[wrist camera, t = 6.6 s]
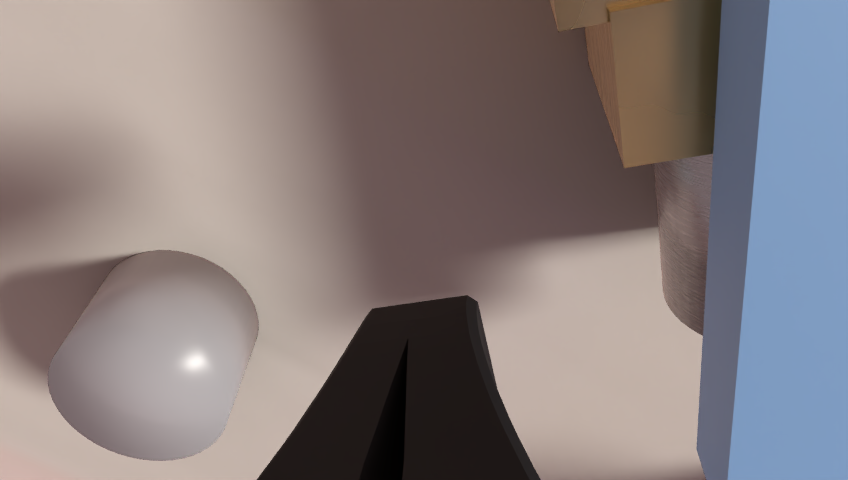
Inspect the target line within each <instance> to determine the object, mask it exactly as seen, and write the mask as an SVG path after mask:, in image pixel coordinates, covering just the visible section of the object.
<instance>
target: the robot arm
mask: <svg viewBox="0 0 848 480" xmlns="http://www.w3.org/2000/svg"><path fill="white" fill-rule="evenodd" d="M257 480H540V478H539V476H538V474H537V472H536V470H535V469H534V467H533V465H532V463H531V461H530V459H529V457H528V455H527V453H526V451H525V449H524V447H523V445H522V443H521V441H520V439H519V437H518V435H517V433H516V431H515V429H514V427H513V425H512V423H511V420H510V418H509V416H508V414H507V411H506V409H505V407H504V404H503V402H502V399H501V397H500V395H499V392H498V390H497V386H496V382H495V377H494V373H493V368H492V364H491V359H490V355H489V350H488V346H487V342H486V337H485V333H484V328H483V324H482V319H481V315H480V310H479V306H478V302H477V301H475V300H474V299H472V298H471V297H469V296H467V295H466V296H459V297H452V298H444V299H437V300H430V301H423V302H416V303H409V304H402V305H395V306H388V307H381V308H374V309H372V310H371V311H370V312H369V314H368V315H367V316H366V318H365V319H364V321H363V322H362V324H361V326H360V327H359V329H358V330H357V332H356V334H355V335H354V337H353V339H352V340H351V342H350V343H349V345H348V347H347V348H346V350H345V352H344V353H343V355H342V356H341V358H340V360H339V361H338V363H337V364H336V366H335V368H334V369H333V371H332V372H331V374H330V376H329V377H328V379H327V380H326V382H325V383H324V385H323V387H322V388H321V390H320V391H319V393H318V394H317V396H316V397H315V399H314V400H313V402H312V403H311V405H310V406H309V408H308V409H307V410H306V412H305V413H304V415H303V416H302V418H301V419H300V421H299V422H298V424H297V425H296V427H295V428H294V430H293V431H292V433H291V434H290V436H289V437H288V438H287V440H286V441H285V443H284V444H283V445H282V447H281V448H280V449H279V451H278V452H277V453H276V455H275V456H274V457H273V459H272V460H271V461H270V463H269V464H268V465H267V467H266V468H265V469H264V471H263V472H262V473H261V475H260V476H259V477H258V479H257Z"/></svg>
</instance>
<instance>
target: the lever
mask: <svg viewBox="0 0 848 480" xmlns="http://www.w3.org/2000/svg"><path fill="white" fill-rule="evenodd" d="M697 452H698V455H699V458H700V461H701V465H702V468H703V471H704V474H705V478H706V480H848V0H722V6H721V24H720V42H719V60H718V78H717V95H716V113H715V131H714V149H713V166H712V184H711V202H710V220H709V238H708V255H707V273H706V291H705V309H704V327H703V344H702V362H701V380H700V398H699V415H698V433H697Z"/></svg>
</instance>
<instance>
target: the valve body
mask: <svg viewBox="0 0 848 480" xmlns="http://www.w3.org/2000/svg"><path fill="white" fill-rule="evenodd" d="M550 4H551V7H552V11H553V15H554V18H555V22H556V25H557V29H558V32H561V31H566V30H571V29H576V28H582V27H585V35H586V44H587V53H588V62H589V66H590V69H591V72H592V75H593V78H594V81H595V84H596V87H597V90H598V93H599V96H600V99H601V102H602V104H603V107H604V110H605V113H606V116H607V119H608V122H609V125H610V128H611V131H612V134H613V137H614V140H615V143H616V145H617V148H618V151H619V154H620V157H621V160H622V163H623V166H624V168H628V167H634V166H640V165H646V164H653V163H654V169H655V184H656V198H657V213H658V227H659V241H660V256H661V270H662V285H663V293H664V298H665V300H666V302H667V304H668V306H669V308H670V309H671V311H672V312H673V314H674V315H675V316H676V317H677V318H678V319H679V320H680V321H681V322H683V323H684V324H685V325H687V326H688V327H689V328H691V329H692V330H694V331H696V332H697V333H699V334H701V335H703V327H704V309H705V291H706V273H707V255H708V238H709V220H710V202H711V184H712V166H713V149H714V131H715V113H716V95H717V78H718V60H719V42H720V24H721V6H722V0H550Z"/></svg>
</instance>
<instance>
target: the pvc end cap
mask: <svg viewBox="0 0 848 480" xmlns="http://www.w3.org/2000/svg"><path fill="white" fill-rule="evenodd" d="M257 335H258V316H257V312H256V309H255V306H254V303H253V301H252V299H251V297H250V296H249V294H248V293H247V291H246V290H245V289H244V287H243V286H242V285H241V284H240V283H239V282H238V281H237V280H236V279H235V278H234V277H233V276H232V275H231V274H229V273H228V272H227V271H225V270H224V269H223V268H221V267H219V266H218V265H216V264H214V263H212V262H210V261H208V260H206V259H204V258H201V257H198V256H195V255H192V254H188V253H184V252H179V251H171V250H157V251H148V252H144V253H139V254H136V255H134V256H131V257H129V258H127V259H125V260H123V261H122V262H120V263H119V264H118V265H117V266H115V267H114V268H113V269H112V271H111V272H110V273H109V274H108V276H107V277H106V279H105V280H104V282H103V283H102V285H101V286H100V288H99V289H98V291H97V292H96V294H95V295H94V297H93V298H92V300H91V301H90V303H89V304H88V306H87V307H86V309H85V310H84V312H83V313H82V315H81V316H80V318H79V319H78V321H77V322H76V324H75V325H74V327H73V328H72V330H71V331H70V333H69V334H68V336H67V337H66V339H65V340H64V342H63V343H62V345H61V346H60V348H59V349H58V351H57V352H56V354H55V355H54V357H53V359H52V361H51V364H50V366H49V371H48V386H49V391H50V394H51V397H52V400H53V402H54V404H55V405H56V407H57V409H58V410H59V412H60V413H61V415H62V416H63V417H64V418H65V420H66V421H67V422H68V423H69V424H70V425H71V426H72V427H73V428H74V429H76V430H77V431H78V432H79V433H80V434H82V435H83V436H84V437H86V438H87V439H89V440H91V441H92V442H94V443H96V444H97V445H99V446H101V447H103V448H105V449H108V450H110V451H113V452H115V453H118V454H121V455H125V456H128V457H132V458H137V459H143V460H153V461H166V460H176V459H182V458H186V457H189V456H193V455H195V454H197V453H200V452H202V451H203V450H205V449H207V448H208V447H210V446H211V445H212V444H213V443H215V442H216V440H217V439H218V438H219V437H220V436H221V434H222V432H223V431H224V429H225V426H226V424H227V421H228V418H229V415H230V412H231V410H232V407H233V404H234V401H235V398H236V395H237V393H238V390H239V387H240V384H241V381H242V379H243V376H244V373H245V370H246V367H247V364H248V362H249V359H250V356H251V353H252V350H253V347H254V345H255V342H256V339H257Z"/></svg>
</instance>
